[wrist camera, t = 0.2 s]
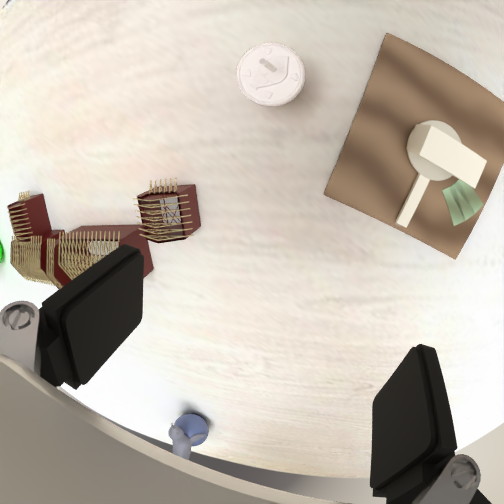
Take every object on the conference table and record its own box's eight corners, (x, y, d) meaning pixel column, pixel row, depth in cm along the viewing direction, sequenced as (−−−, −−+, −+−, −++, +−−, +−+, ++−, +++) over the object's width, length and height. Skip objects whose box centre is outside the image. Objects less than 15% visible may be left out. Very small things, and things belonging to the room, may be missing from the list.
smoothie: (324, 87, 32) (316, 68, 20) (284, 120, 35) (255, 120, 23) (287, 50, 31) (259, 15, 19) (249, 83, 34) (203, 67, 22)
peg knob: (419, 109, 28) (438, 108, 22) (467, 138, 28) (493, 144, 21) (375, 210, 35) (383, 231, 29) (423, 234, 34) (438, 258, 28)
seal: (208, 400, 61) (170, 474, 44) (216, 430, 66) (186, 495, 49) (173, 392, 63) (132, 459, 46) (185, 422, 68) (152, 483, 51)
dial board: (385, 35, 27) (387, 32, 26) (515, 115, 25) (520, 115, 24) (324, 192, 37) (323, 195, 36) (452, 255, 35) (455, 260, 34)
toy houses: (45, 274, 61) (16, 295, 52) (22, 190, 52) (-13, 204, 44) (219, 294, 48) (192, 333, 40) (200, 162, 40) (162, 176, 31)
